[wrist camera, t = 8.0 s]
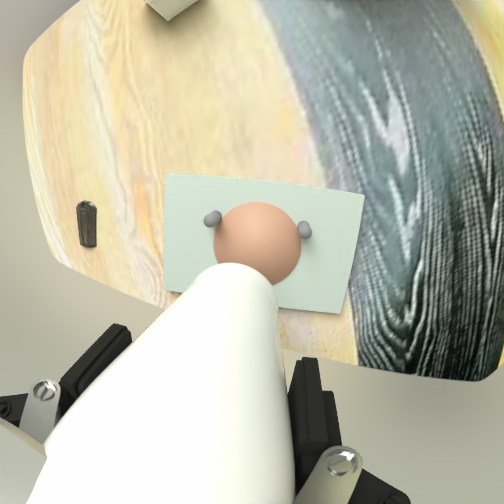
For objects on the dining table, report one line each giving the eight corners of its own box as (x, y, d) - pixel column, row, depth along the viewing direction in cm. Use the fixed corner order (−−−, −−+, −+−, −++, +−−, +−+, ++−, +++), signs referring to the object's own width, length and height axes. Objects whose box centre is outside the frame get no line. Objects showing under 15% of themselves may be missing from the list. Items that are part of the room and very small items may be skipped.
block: (86, 242, 33) (77, 246, 31) (81, 199, 30) (71, 202, 29) (103, 244, 32) (94, 249, 30) (98, 199, 30) (88, 202, 28)
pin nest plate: (361, 194, 26) (372, 197, 22) (338, 308, 30) (344, 325, 26) (170, 173, 27) (155, 174, 24) (168, 285, 31) (155, 299, 28)
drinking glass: (185, 237, 16) (-44, 443, 1) (302, 259, 15) (347, 592, 1) (178, 333, 18) (68, 531, 3) (277, 354, 17) (258, 588, 3)
